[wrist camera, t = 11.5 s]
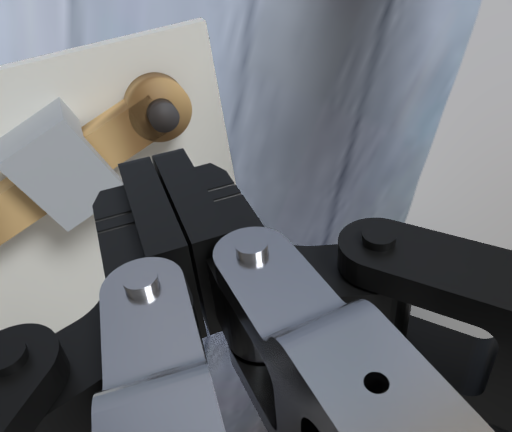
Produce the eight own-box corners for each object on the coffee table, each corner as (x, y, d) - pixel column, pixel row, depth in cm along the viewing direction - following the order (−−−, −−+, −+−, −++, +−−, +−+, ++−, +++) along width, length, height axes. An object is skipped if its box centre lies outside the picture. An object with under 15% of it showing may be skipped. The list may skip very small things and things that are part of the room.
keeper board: (200, 17, 34) (226, 34, 30) (246, 259, 48) (268, 294, 44) (-196, 111, 28) (-235, 149, 24) (-14, 357, 42) (-18, 408, 38)
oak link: (163, 59, 33) (174, 72, 31) (195, 109, 36) (208, 125, 33) (-59, 208, 32) (-65, 233, 30) (-9, 247, 35) (-11, 273, 33)
